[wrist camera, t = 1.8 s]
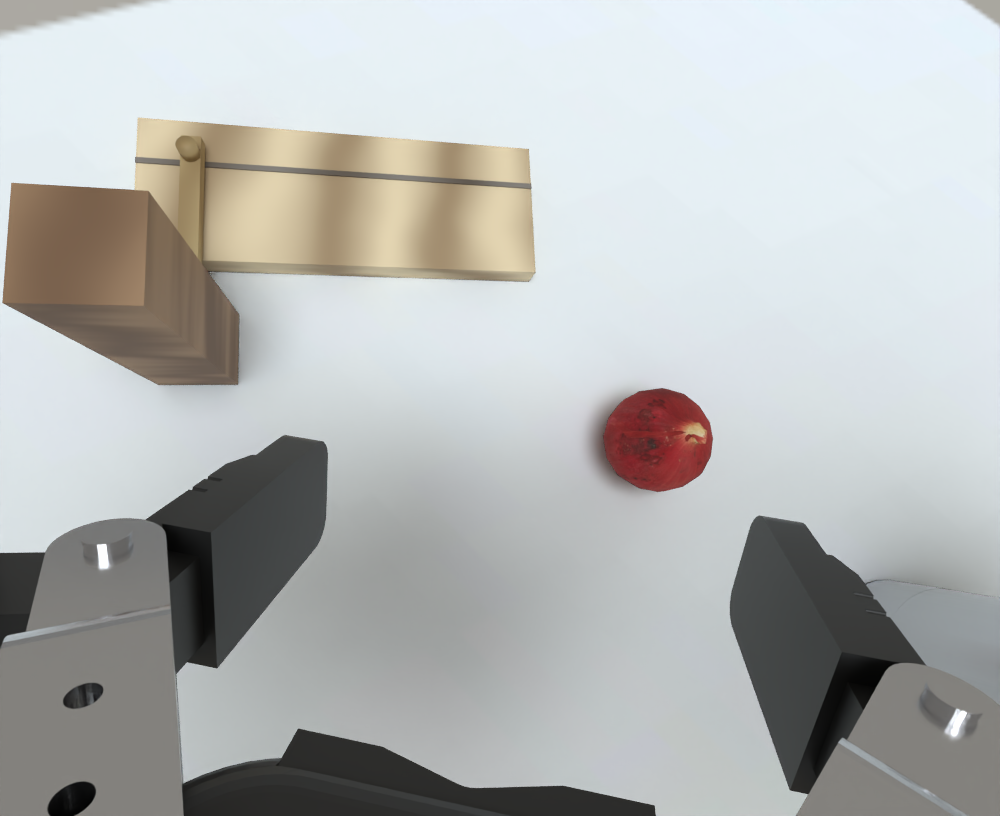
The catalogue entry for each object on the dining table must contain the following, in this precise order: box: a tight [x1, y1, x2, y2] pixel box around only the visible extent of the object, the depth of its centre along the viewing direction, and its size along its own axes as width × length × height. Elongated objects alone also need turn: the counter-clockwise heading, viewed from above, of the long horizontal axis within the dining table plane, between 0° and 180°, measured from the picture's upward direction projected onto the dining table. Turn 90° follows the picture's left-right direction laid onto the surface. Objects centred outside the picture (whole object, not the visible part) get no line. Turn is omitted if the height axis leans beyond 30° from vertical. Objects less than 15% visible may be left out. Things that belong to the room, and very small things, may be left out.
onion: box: [603, 388, 713, 492], centre depth 33 cm, size 6×6×8 cm
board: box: [135, 118, 535, 282], centre depth 35 cm, size 22×8×2 cm, turn 92°
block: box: [3, 135, 239, 385], centre depth 27 cm, size 4×13×14 cm, turn 2°
